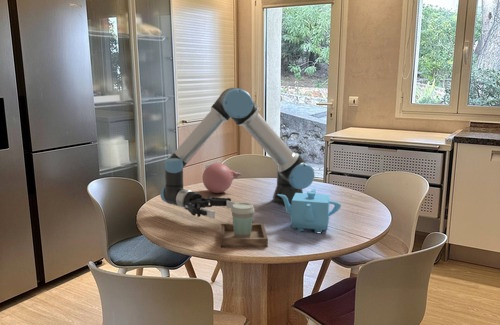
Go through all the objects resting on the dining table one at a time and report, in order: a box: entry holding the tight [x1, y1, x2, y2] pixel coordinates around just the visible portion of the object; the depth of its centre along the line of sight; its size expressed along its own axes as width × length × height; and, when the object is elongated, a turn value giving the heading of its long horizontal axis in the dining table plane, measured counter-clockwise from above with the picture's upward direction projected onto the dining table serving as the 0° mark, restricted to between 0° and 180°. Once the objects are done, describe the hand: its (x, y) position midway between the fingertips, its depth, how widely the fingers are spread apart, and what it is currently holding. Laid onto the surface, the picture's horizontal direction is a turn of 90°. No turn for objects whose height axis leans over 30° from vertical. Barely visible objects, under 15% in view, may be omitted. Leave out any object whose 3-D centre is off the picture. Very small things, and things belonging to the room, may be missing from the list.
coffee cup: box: [230, 202, 255, 238], centre depth 160 cm, size 8×8×12 cm
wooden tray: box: [220, 222, 269, 248], centre depth 161 cm, size 16×16×3 cm
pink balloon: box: [201, 162, 242, 194], centre depth 224 cm, size 15×20×15 cm
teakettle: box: [277, 188, 342, 233], centre depth 172 cm, size 19×19×15 cm
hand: (227, 210), depth 165 cm, fingers open, 13 cm apart
